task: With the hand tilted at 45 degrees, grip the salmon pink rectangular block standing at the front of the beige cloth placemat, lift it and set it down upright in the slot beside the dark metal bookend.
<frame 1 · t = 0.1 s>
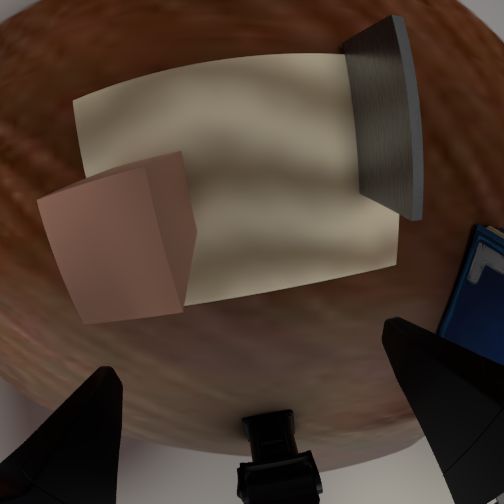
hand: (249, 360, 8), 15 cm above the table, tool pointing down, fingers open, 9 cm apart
bookend: (358, 116, 18), resting on beige cloth placemat
salmon pink rectangular block: (155, 199, 19), point 1 cm above the table, touching beige cloth placemat
book: (460, 302, 29), on the table
beige cloth placemat: (251, 179, 21), on the table
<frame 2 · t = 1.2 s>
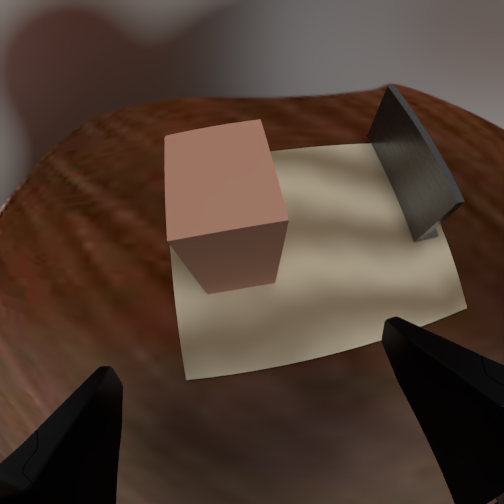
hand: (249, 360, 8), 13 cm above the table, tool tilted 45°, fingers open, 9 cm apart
bookend: (393, 183, 24), resting on beige cloth placemat
salmon pink rectangular block: (234, 250, 22), point 1 cm above the table, touching beige cloth placemat
beige cloth placemat: (320, 240, 23), on the table
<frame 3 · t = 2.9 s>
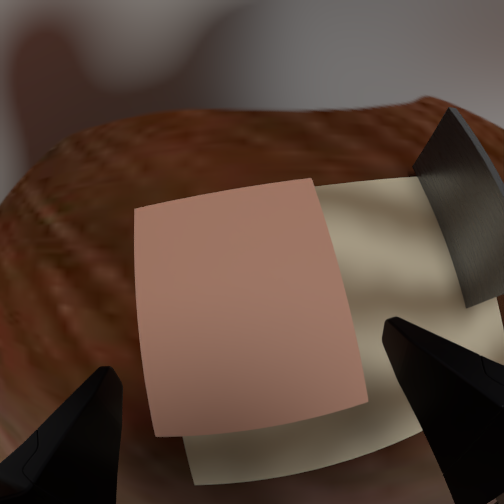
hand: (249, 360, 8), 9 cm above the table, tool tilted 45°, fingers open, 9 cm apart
bookend: (445, 231, 18), resting on beige cloth placemat
salmon pink rectangular block: (251, 336, 16), point 1 cm above the table, touching beige cloth placemat
beige cloth placemat: (360, 313, 17), on the table
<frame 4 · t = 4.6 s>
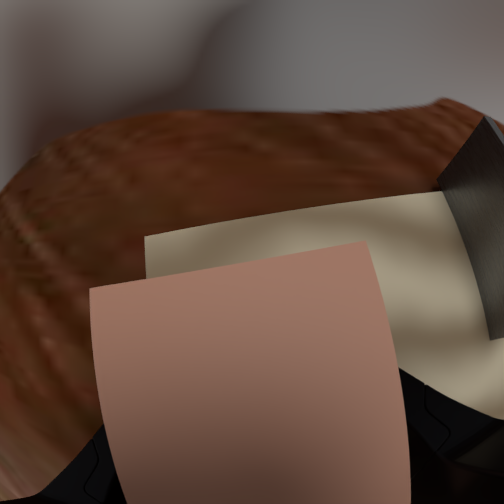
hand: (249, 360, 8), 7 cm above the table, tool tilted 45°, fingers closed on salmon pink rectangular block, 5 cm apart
bookend: (471, 254, 15), resting on beige cloth placemat
salmon pink rectangular block: (257, 385, 13), point 1 cm above the table, touching gripper, beige cloth placemat
beige cloth placemat: (380, 353, 14), on the table
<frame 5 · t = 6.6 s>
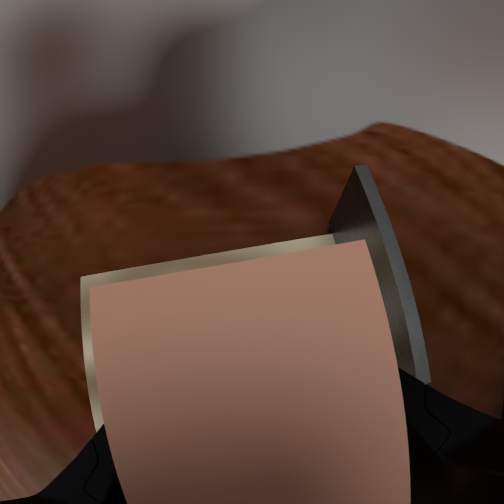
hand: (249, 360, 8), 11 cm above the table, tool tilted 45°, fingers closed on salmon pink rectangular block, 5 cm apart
bookend: (354, 297, 19), resting on beige cloth placemat
salmon pink rectangular block: (257, 385, 13), point 6 cm above the table, touching gripper
beige cloth placemat: (245, 378, 18), on the table
when the fingers open (7 cm above the table, at t = 8.5 s): salmon pink rectangular block stays where it is, resting on beige cloth placemat.
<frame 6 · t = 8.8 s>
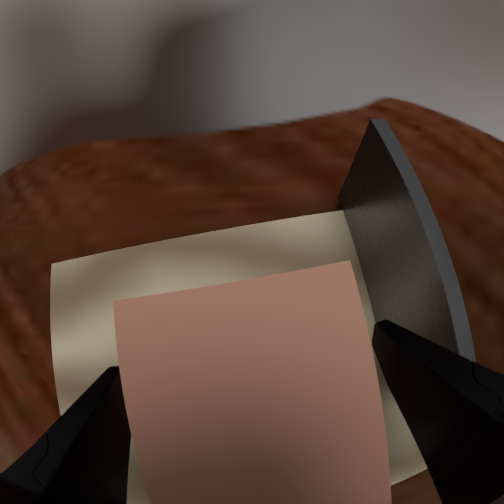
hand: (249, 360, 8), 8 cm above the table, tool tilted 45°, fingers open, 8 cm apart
bookend: (372, 284, 16), resting on beige cloth placemat
salmon pink rectangular block: (257, 384, 14), point 1 cm above the table, touching beige cloth placemat
beige cloth placemat: (239, 385, 15), on the table
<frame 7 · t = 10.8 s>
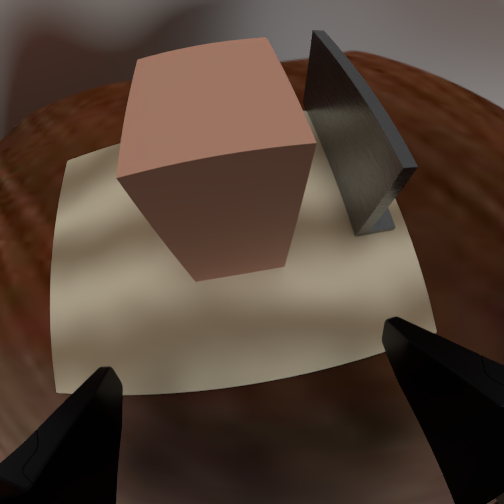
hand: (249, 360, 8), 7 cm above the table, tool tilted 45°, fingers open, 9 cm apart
bookend: (332, 157, 19), resting on beige cloth placemat
salmon pink rectangular block: (231, 225, 17), point 1 cm above the table, touching beige cloth placemat
beige cloth placemat: (217, 235, 18), on the table
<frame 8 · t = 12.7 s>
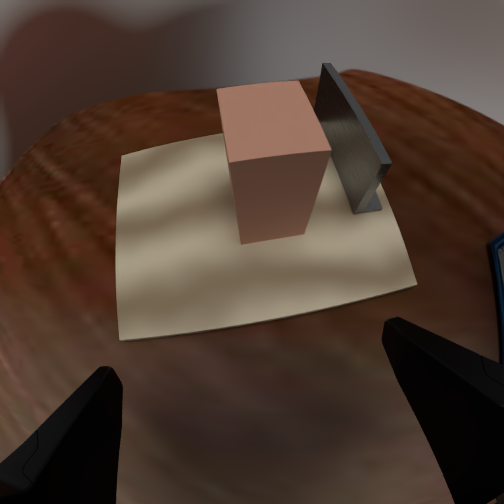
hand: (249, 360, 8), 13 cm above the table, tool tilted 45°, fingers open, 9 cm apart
bookend: (335, 158, 25), resting on beige cloth placemat
salmon pink rectangular block: (265, 206, 23), point 1 cm above the table, touching beige cloth placemat
beige cloth placemat: (253, 213, 24), on the table
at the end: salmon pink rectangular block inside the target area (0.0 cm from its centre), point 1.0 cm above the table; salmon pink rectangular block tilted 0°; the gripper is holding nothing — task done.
